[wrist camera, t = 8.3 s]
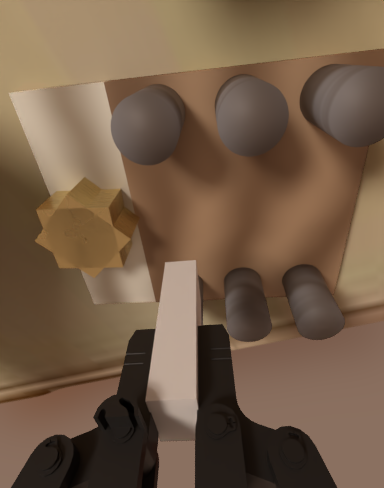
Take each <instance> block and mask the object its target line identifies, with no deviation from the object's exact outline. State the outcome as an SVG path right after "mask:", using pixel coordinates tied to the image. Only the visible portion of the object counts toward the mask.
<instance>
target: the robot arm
mask: <svg viewBox="0 0 384 488" xmlns="http://www.w3.org/2000/svg"><path fill="white" fill-rule="evenodd" d="M94 419H95V421H96V423H97V424H98V427H97V428H95V429H93V430H91V431H89V432H86V433H84V434H81V435H79V436H76V437H74V438H72V439H70V438H68V437H67V436H65V435H54V436H52V437H49V438H47V439H46V440H44V441H43V442H42V443H40V444H39V445H38V446H37V447H36V449H35V450H34V451H33V453H32V454H31V455H30V457H29V459H28V461H27V462H26V464H25V466H24V467H23V469H22V470H21V472H20V474H19V475H18V477H17V479H16V480H15V482H14V484H13V485H12V487H11V488H157V480H158V468H159V457H158V453H157V446H158V436H159V438H160V441H187V440H188V441H189V440H195V488H337V486H336V484H335V482H334V481H333V479H332V477H331V475H330V473H329V471H328V469H327V467H326V465H325V463H324V461H323V459H322V458H321V456H320V454H319V452H318V450H317V448H316V446H315V445H314V443H313V442H312V440H311V439H310V438H309V436H308V435H307V434H305V433H304V432H302V431H301V430H300V429H297V428H294V427H291V426H285V427H280V428H278V429H276V430H274V429H271V428H268V427H265V426H262V425H259V424H257V423H254V422H253V421H251V420H250V419H248V418H247V417H246V416H245V415H244V414H243V413H242V411H241V410H240V408H239V406H238V403H237V399H236V392H235V384H234V375H233V367H232V359H231V349H230V341H229V334H228V333H227V331H226V329H225V328H224V326H223V324H219V325H201V297H200V289H199V280H198V272H197V263H196V260H190V261H176V262H165V268H164V275H163V282H162V289H161V296H160V303H159V309H158V316H157V323H156V329H145V330H136V331H135V333H134V334H133V336H132V337H131V339H130V340H129V343H128V347H127V352H126V356H125V360H124V366H123V369H122V374H121V378H120V382H119V387H118V391H117V395H113V396H111V397H110V398H108V399H106V400H105V401H104V402H103V403H102V404H101V405H100V406H99V407H98V409H97V411H96V413H95V415H94Z"/></svg>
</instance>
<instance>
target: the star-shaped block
mask: <svg viewBox="0 0 384 488" xmlns="http://www.w3.org/2000/svg"><path fill="white" fill-rule="evenodd" d="M36 212H37V214H38V217H39V219H40V222H41V224H42V227H43V230H42V231H41V233H40V234H39V235H38V237H37V238H36V240H35V242H36V243H38V244H40V245H41V246H43V247H44V248H46V249H48V250H49V251H51V252H53V254H54V257H55V259H56V261H57V264H58V266H59V268H78V269H80V270H82V271H83V272H85V273H87V274H88V275H90V276H91V277H93V278H95V277H96V276H97V275H98V274H99V273H100V272H101V271H102V269H103V268H113V267H123V266H124V264H125V261H126V259H127V257H128V254H129V252H130V249H131V247H132V240H131V237H132V235H133V232H134V230H135V228H136V225H137V223H138V221H139V217H138V216H137V215H135V214H134V213H133V212H131V211H130V210H129V209H127V208H126V207H125V206H124V202H123V197H122V192H121V189H100V188H99V187H98V186H96V185H95V184H94V183H92V182H91V181H90V180H88V179H87V178H86V177H84V178H83V179H82V180H81V181H80V182H79V183H78V184H77V185H76V186H75V187H74V188H73V189H72V190H71V191H56V192H55V193H54V194H53V195H52V196H50V197H49V198H48V199H47V200H46V201H45V202H44V203H43V204H41V205H40V206H39V207H38V208H37V209H36Z"/></svg>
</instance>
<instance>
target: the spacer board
mask: <svg viewBox="0 0 384 488" xmlns="http://www.w3.org/2000/svg"><path fill="white" fill-rule="evenodd" d="M9 95H10V98H11V100H12V103H13V105H14V108H15V110H16V112H17V115H18V117H19V120H20V122H21V125H22V127H23V130H24V132H25V135H26V137H27V140H28V142H29V144H30V147H31V149H32V152H33V154H34V157H35V159H36V162H37V164H38V167H39V169H40V172H41V174H42V177H43V179H44V181H45V184H46V186H47V189H48V191H49V194H50V196H52V195H53V194H54V193H55V192H56V191H71V190H72V189H73V188H74V187H75V186H76V185H77V184H78V183H79V182H80V181H81V180H82V179H83V178H84V177H86V178H87V179H88V180H90V181H91V182H92V183H94V184H95V185H96V186H98V187H99V188H100V189H121V192H122V197H123V202H124V206H125V207H126V208H127V209H129V210H130V211H131V212H133V213H134V214H135V215H137V216H138V217H139V221H138V223H137V225H136V228H135V230H134V232H133V235H132V237H131V240H132V247H131V249H130V252H129V254H128V257H127V259H126V261H125V264H124V266H123V267H113V268H103V269H102V271H101V272H100V273H99V274H98V275H97V276H96V277H95V278H93V277H91V276H90V275H88V274H87V273H85V272H83V271H82V270H81V273H82V275H83V278H84V280H85V283H86V285H87V287H88V290H89V292H90V295H91V297H92V300H93V302H94V304H114V303H138V302H160V296H161V289H162V282H163V275H164V268H165V262H176V261H190V260H196V263H197V272H198V280H199V289H200V297H201V325H203V300H217V299H225V306H226V319H227V330H228V333H229V334H230V335H231V336H232V337H233V338H235V339H236V340H239V341H244V342H253V341H258V340H260V339H263V338H264V337H266V336H267V335H268V334H269V333H270V331H271V329H272V323H271V319H270V315H269V311H268V307H267V303H266V298H265V297H287V299H288V302H289V305H290V308H291V311H292V314H293V317H294V320H295V323H296V326H297V329H298V332H299V333H300V334H301V335H302V336H303V337H305V338H308V339H312V340H322V339H327V338H330V337H332V336H334V335H336V334H337V333H339V332H340V331H341V330H342V329H343V327H344V324H345V319H344V317H343V315H342V313H341V311H340V309H339V307H338V305H337V303H336V302H335V300H334V298H333V296H332V295H334V291H335V287H336V283H337V279H338V274H339V270H340V266H341V262H342V257H343V253H344V249H345V245H346V241H347V236H348V232H349V228H350V224H351V219H352V215H353V211H354V207H355V202H356V198H357V194H358V190H359V186H360V181H361V177H362V173H363V169H364V164H365V160H366V156H367V152H368V147H369V145H371V144H374V143H376V142H378V141H380V140H381V139H383V138H384V49H377V50H368V51H359V52H351V53H342V54H334V55H325V56H317V57H308V58H299V59H291V60H282V61H274V62H265V63H257V64H248V65H240V66H231V67H222V68H214V69H205V70H197V71H188V72H180V73H171V74H162V75H154V76H145V77H137V78H128V79H120V80H111V81H102V82H94V83H85V84H77V85H68V86H60V87H51V88H43V89H34V90H25V91H17V92H12V93H9Z"/></svg>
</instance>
